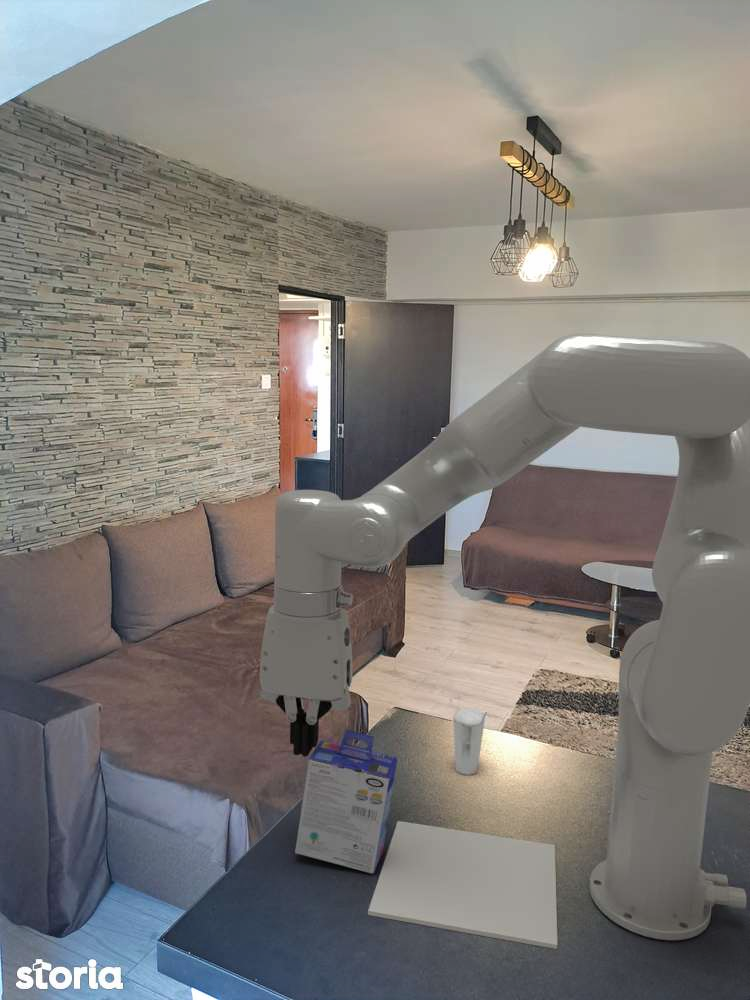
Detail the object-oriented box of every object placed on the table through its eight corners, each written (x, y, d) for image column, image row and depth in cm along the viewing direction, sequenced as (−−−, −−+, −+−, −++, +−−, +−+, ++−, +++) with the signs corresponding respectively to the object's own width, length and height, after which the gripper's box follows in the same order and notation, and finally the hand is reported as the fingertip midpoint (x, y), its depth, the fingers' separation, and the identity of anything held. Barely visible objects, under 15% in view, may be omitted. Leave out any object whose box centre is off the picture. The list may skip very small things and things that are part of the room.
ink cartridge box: (384, 848, 92) (403, 738, 89) (375, 876, 86) (394, 761, 84) (306, 827, 93) (322, 719, 91) (293, 854, 88) (309, 740, 85)
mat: (554, 848, 92) (554, 845, 92) (557, 949, 76) (557, 944, 76) (397, 824, 96) (397, 820, 96) (368, 914, 80) (368, 910, 80)
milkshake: (472, 783, 107) (476, 716, 105) (444, 768, 111) (447, 704, 109) (492, 772, 110) (496, 707, 108) (464, 758, 114) (468, 695, 112)
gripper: (378, 596, 88) (373, 744, 91) (257, 585, 91) (255, 728, 94) (363, 615, 81) (358, 775, 84) (232, 602, 84) (231, 757, 87)
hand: (303, 750), depth 89 cm, fingers closed
